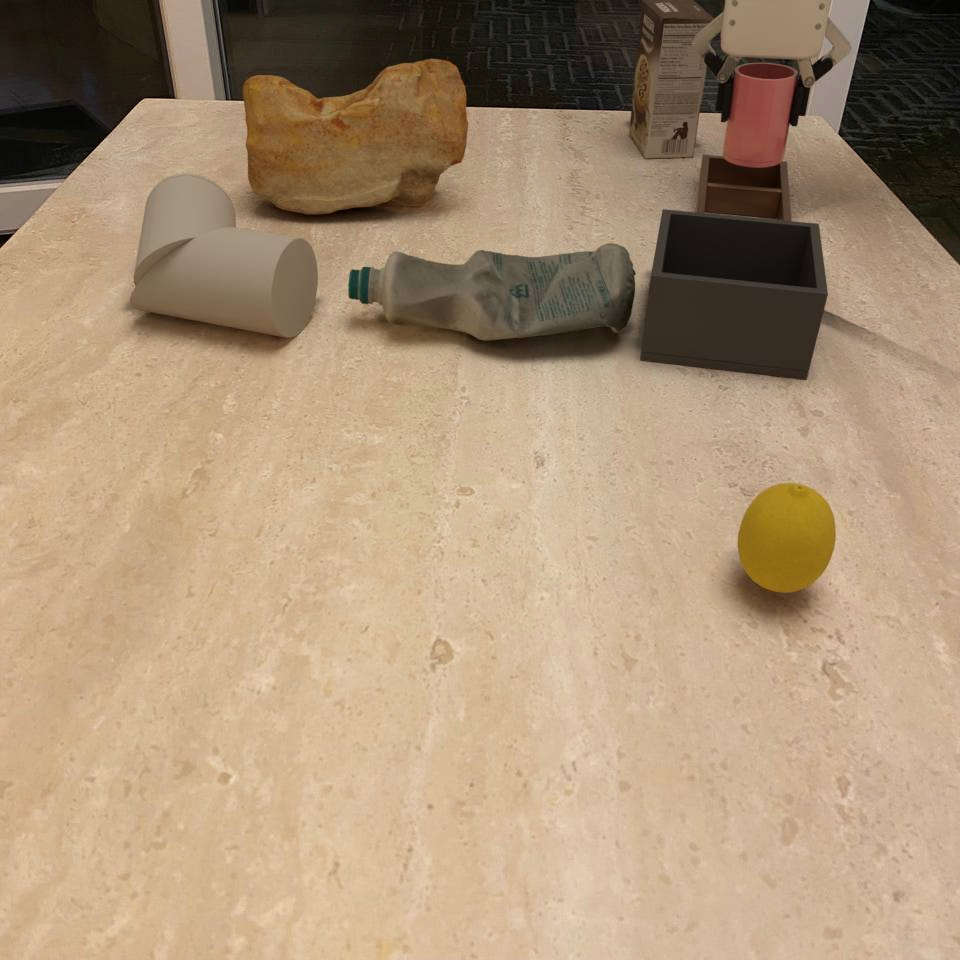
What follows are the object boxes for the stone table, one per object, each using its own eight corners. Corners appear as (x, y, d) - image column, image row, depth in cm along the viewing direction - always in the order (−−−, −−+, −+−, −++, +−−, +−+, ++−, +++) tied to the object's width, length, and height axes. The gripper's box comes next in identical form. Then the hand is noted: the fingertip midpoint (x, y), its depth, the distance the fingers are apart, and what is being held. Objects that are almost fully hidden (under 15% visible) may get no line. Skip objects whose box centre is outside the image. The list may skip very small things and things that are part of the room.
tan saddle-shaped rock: (468, 173, 119) (464, 38, 111) (471, 218, 105) (466, 67, 97) (273, 179, 119) (255, 44, 111) (249, 225, 105) (226, 74, 97)
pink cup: (748, 143, 112) (761, 59, 107) (795, 158, 108) (811, 72, 103) (710, 155, 109) (721, 70, 104) (756, 172, 105) (770, 83, 100)
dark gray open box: (652, 287, 94) (662, 208, 90) (800, 303, 92) (818, 223, 88) (640, 360, 84) (650, 275, 79) (806, 379, 82) (828, 293, 77)
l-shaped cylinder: (56, 314, 86) (263, 354, 81) (43, 189, 82) (261, 223, 77) (175, 271, 102) (354, 303, 97) (169, 164, 97) (357, 191, 92)
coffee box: (626, 134, 128) (640, -3, 118) (675, 132, 129) (693, -3, 119) (643, 159, 121) (659, 16, 111) (695, 158, 122) (715, 15, 112)
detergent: (626, 288, 94) (360, 277, 94) (636, 219, 89) (356, 207, 89) (638, 372, 84) (342, 359, 84) (650, 299, 79) (336, 286, 79)
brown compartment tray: (781, 187, 115) (787, 161, 113) (786, 253, 101) (792, 225, 99) (699, 179, 116) (702, 154, 114) (691, 243, 102) (696, 216, 100)
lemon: (721, 605, 61) (743, 503, 56) (736, 549, 65) (758, 450, 60) (813, 629, 60) (845, 527, 55) (823, 570, 64) (853, 470, 59)
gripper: (879, -74, 97) (840, 114, 108) (697, -78, 100) (677, 105, 111) (887, -60, 91) (845, 137, 102) (694, -65, 94) (673, 127, 105)
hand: (758, 118), depth 106 cm, fingers closed on pink cup, 6 cm apart
